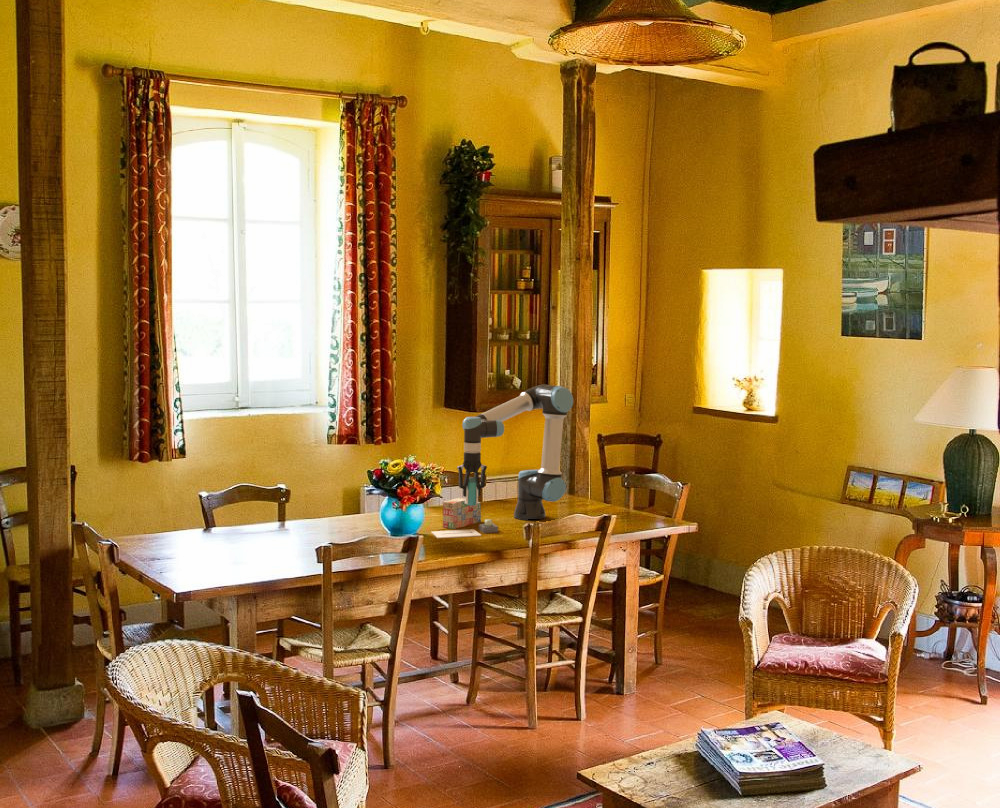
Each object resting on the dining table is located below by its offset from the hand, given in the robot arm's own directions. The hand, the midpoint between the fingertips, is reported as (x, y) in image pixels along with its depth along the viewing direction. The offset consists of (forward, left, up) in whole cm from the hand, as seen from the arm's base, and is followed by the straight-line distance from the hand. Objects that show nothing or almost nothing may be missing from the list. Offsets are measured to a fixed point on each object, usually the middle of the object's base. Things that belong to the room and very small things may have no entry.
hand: (471, 503), depth 497 cm
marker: (0, 0, -1) cm, 1 cm away
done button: (-9, -3, -12) cm, 16 cm away
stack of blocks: (-1, -19, -14) cm, 24 cm away
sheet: (+7, 0, -14) cm, 15 cm away
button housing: (-9, -3, -14) cm, 17 cm away
